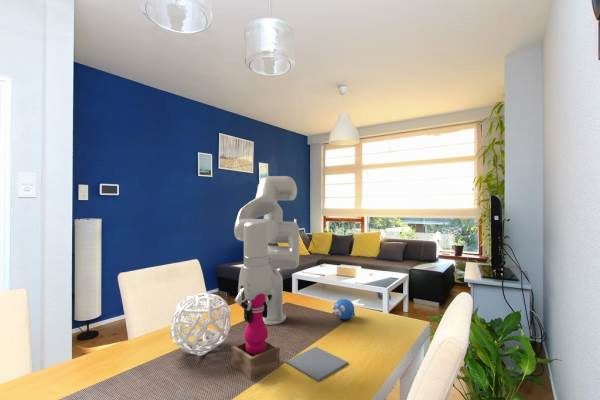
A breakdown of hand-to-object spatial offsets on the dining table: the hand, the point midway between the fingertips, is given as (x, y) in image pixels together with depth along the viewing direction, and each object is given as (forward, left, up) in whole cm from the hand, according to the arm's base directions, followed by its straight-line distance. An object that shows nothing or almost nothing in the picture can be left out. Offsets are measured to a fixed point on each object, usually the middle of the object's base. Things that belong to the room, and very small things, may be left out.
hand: (255, 318), depth 95 cm
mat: (+12, +15, -15) cm, 24 cm away
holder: (0, 0, -15) cm, 15 cm away
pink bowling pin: (0, 0, -10) cm, 10 cm away
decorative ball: (-20, -8, -15) cm, 26 cm away
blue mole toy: (-5, +49, -15) cm, 51 cm away
